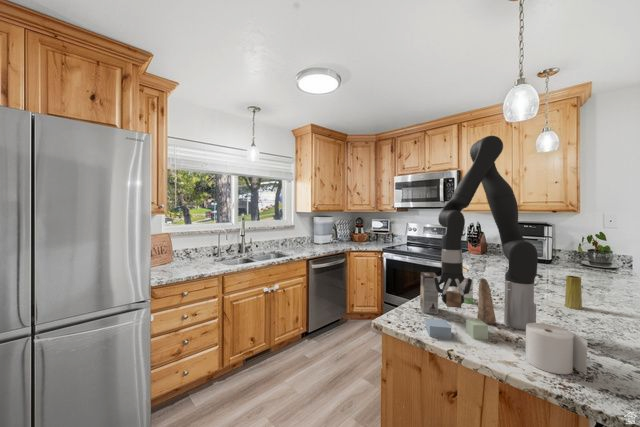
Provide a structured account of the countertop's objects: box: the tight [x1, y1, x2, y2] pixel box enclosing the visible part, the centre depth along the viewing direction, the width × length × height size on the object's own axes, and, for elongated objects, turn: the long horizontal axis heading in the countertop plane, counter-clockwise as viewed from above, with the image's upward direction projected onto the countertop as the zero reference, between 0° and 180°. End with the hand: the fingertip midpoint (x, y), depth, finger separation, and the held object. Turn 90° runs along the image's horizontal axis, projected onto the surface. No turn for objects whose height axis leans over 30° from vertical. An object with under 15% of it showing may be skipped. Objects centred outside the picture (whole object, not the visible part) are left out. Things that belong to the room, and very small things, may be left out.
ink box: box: [451, 276, 474, 304], centre depth 136 cm, size 9×5×12 cm, turn 44°
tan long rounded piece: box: [476, 277, 497, 325], centre depth 110 cm, size 6×18×6 cm
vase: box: [564, 275, 583, 310], centre depth 128 cm, size 6×6×14 cm
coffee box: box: [419, 271, 439, 315], centre depth 123 cm, size 9×6×16 cm
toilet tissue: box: [524, 322, 588, 376], centre depth 80 cm, size 11×12×10 cm
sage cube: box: [465, 318, 489, 340], centre depth 98 cm, size 5×5×5 cm
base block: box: [425, 318, 452, 340], centre depth 100 cm, size 7×7×4 cm
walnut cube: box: [445, 290, 462, 309], centre depth 109 cm, size 5×5×5 cm
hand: (452, 303), depth 109 cm, fingers closed on walnut cube, 5 cm apart
